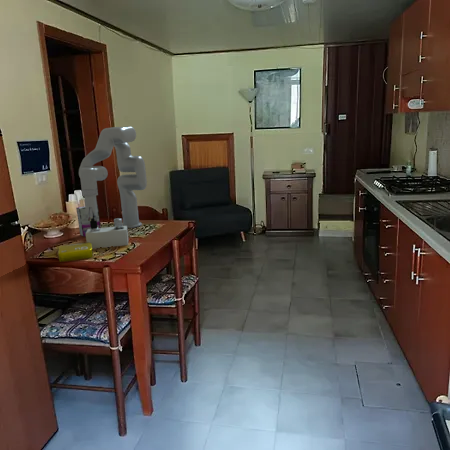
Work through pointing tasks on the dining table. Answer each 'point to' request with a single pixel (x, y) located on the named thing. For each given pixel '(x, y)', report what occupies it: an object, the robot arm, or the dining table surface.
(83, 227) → the candy bar box
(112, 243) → the pin block
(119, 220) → the pin inner
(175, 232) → the dining table surface
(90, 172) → the robot arm
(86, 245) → the element tile
